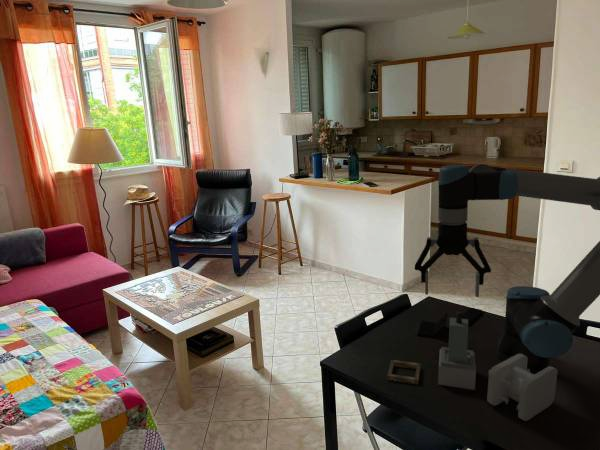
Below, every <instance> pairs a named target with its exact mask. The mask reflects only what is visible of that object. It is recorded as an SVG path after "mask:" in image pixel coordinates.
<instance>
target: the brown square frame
mask: <svg viewBox="0 0 600 450" xmlns="http://www.w3.org/2000/svg"><path fill="white" fill-rule="evenodd" d="M395 367H396V368H397V367H399V368H404V369H405V368H406V369H412V370H415V375H414V376H413V377H412V376H406V375H398V374H393V372H394V368H395ZM420 372H421V363H419V362H411V361H410V362H409V361H403V360H397V359H395V360H394V359H390V362H389V366H388V370H387V375H386V380H387V381H390V380H391V381H392V380H393V381H392V382H397V381H398V383H405V384H411V385H412V384H413V385H417V386H418V385H419V381H420Z"/></svg>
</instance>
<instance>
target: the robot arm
mask: <svg viewBox="0 0 600 450" xmlns="http://www.w3.org/2000/svg"><path fill="white" fill-rule="evenodd" d="M516 196H517V197H524V198H531V199H538V200H539V199H540V200H546V201H554V202H562V203H569V204H577V205H584V206H590V207H591V208H592V210H594V211H600V176H599V177H597V178H591V177H583V176H574V175H567V174H566V175H565V174H557V173H552V172H551V173H549V172H542V171H541V172H540V171H533V170H532V171H531V170H527V169H526V170H523V169H515V168H509V167H508V168H507V167H499V166H491V165H488V164H483V163H479V164H476V165H474V166H472V167H471V168H469V166H468V165H465V164H447V165H443V166H441V167H440V169H439V173H438V212H437V213H438V217H437V218H438V219H437V220H438V221H439V222H438V224H437V225H438V227H437V228H438V229H437V234H438V235H437V236H438V237H437V238H431V237H430V236H429V237H427V238H426V243H425V246H424V248H423V249H422V251H421V254H420V255H419V256H418V259H417V260H416V262H415V263H414V264H415V265H414V270H415V271H419V272H420V278H421V279H420V282H421V284H424V286H425V287H424V291H425V292H424V293H425V295H429V269H430V267H431V266H433V264H434V263H435V262H436V261H437V260H438V259H439V258H440V257H442V256H443V255H444V254H445V255H446V256H452V255H453V256H459V255H462V257H464V258H465V260H467V262H469V264H470V265H471V266H473V268H474V269H475V270H476V271H475V280H474V282H475V285H474V294H475V297H476V298H479V297H480V286H483V284H484V281H485V280H484V278H485V274H486V273H491V272H492V268H491V266H490V263H488V262H489V261H488V260H487V258H486V256H485V255H484V253H483V250H482V249H481V246H480V241H479V238H478V237H474V238H473V239H472V238H471V239H468V223H467V221H468V214H469V213H468V208H469V207H468V203H469V201H504V200H513V199H515V198H516ZM435 244H436V246H437V247H438V248H437V249H436V251H435V252H434V253H433V254H432V255H431V256H430V257H429V258H428V259H427V260H426V262H425V263H423V262H424V261H425V259H426V257H427V255H428V254H429V252H430V249H431V247H434V246H435ZM469 245H470V246H471V248H474V249H475V252H476V253H477V255H478V257H479V260H480V262H481V263H482V265H483V267H482V266H481V265H480V264H479V262H477V260H476V259H475V258H474V257H473V256H472V255H471V254H470V253H469V251H468V250H467V249H466V248H467V247H468V246H469ZM422 264H423V265H422ZM599 297H600V240H599V241H598V242H597V243H596V245H594V246H593V247H592V248H591V250H590V251H589V252H588V253H587V254H586V255H585V256H584V257H583V258H582V259H581V261H580V262H579V263H578V264H577V265H576V266H575V267H574V268H573V270H572V271H571V272H569V274H568V275H567V276H566V277H565V278H564V279H563V281H561V283H560V284H559V285H558V286H557V287H556V288H555V289H554V290H553V292H552V293H550V292H549V291H548V290H546V289H543V288H540V287H536V286H527V285H524V286H523V285H519V286H513V287H510V288H508V289H507V293H506V297H505V298H506V303H505V316H504V317H505V319H504V329H503V330H504V331H503V333H502V335H501V337H500V339H499V341H498V342H497V345H496V355H497V357H498V358H499V359H500V360H501V361H502V362H503V361H505V360H507V359H509V358H511V357H513V356H515V355H517V354H523V355H525V356H527V358H528V361H527V370H529V371H531V370H543V369H545V368H547V367H549V366H550V361H551V358H553V359H554V358H558V357H561V356H563V355H565V354H566V353H568V351H570V349H571V347H572V346H573V342H574V340H573V339H574V338H573V337H574V336H573V333H574V332H575V331H576V330H577V329H578V328H579V327H580V325H581V322H580V317H581V315H582V314H583V313H584V312H585V311H586V310H587V309H588V308H589V307H590V306H591V305H592V304H593V303H594V302H595V301H596V300H597V299H598V298H599ZM529 368H530V369H529Z"/></svg>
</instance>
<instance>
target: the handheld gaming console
mask: <svg viewBox="0 0 600 450" xmlns="http://www.w3.org/2000/svg"><path fill="white" fill-rule="evenodd" d="M448 315H449V314H448V313H447V312H446V313H445V314H444V315H443V316H442V317H441V318H440V319H439V320H438V321H434V322H433V321H427V320H426V321H425V320H421V322H420V325H419V328H418V331H417V335H416V336H417V337H423V338H430V339H435V338H436V336H437V335H438V334H439V333H440V332H441V331H442V330H443V329H444V328H445V326H446V323H447V318H448Z"/></svg>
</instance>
